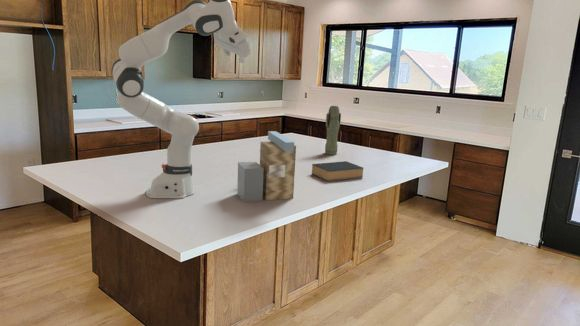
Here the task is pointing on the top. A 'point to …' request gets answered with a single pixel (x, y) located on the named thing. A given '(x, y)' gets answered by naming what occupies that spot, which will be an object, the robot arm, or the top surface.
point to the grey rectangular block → (250, 181)
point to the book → (337, 170)
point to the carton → (277, 171)
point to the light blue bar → (281, 141)
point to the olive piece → (332, 130)
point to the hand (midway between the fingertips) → (234, 58)
